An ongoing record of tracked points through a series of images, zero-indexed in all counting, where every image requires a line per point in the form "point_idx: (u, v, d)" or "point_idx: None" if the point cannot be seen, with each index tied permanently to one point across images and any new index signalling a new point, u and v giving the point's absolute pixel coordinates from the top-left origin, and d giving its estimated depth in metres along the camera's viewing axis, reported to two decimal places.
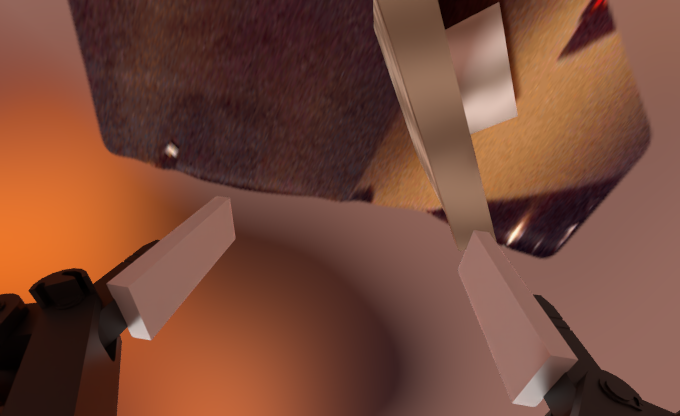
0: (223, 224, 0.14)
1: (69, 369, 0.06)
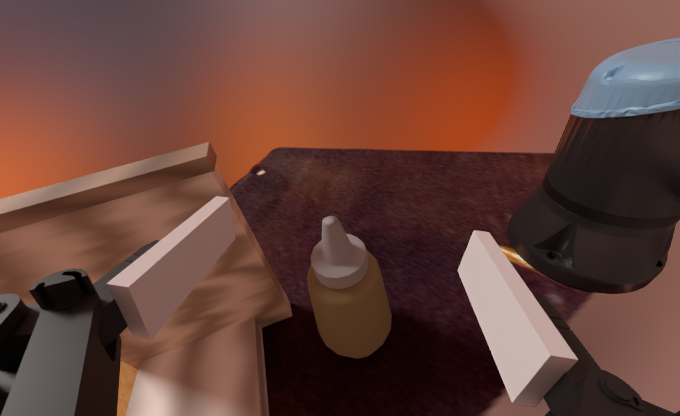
0: (223, 224, 0.14)
1: (68, 370, 0.06)
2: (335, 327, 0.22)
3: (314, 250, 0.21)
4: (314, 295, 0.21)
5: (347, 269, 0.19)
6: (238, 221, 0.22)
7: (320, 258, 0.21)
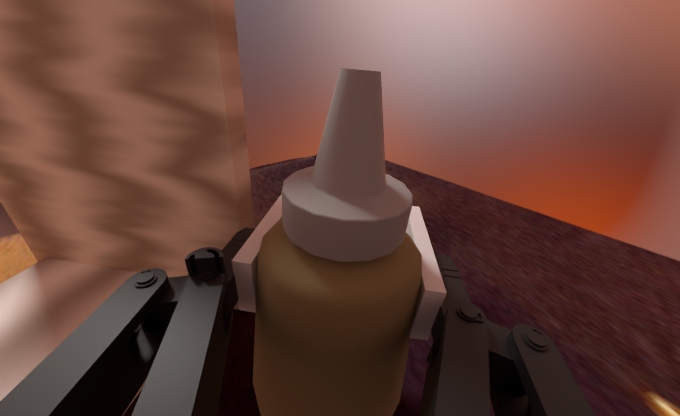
0: None
1: (199, 338, 0.07)
2: (269, 347, 0.10)
3: (307, 168, 0.10)
4: (260, 251, 0.10)
5: (348, 209, 0.07)
6: (221, 82, 0.13)
7: (307, 177, 0.09)
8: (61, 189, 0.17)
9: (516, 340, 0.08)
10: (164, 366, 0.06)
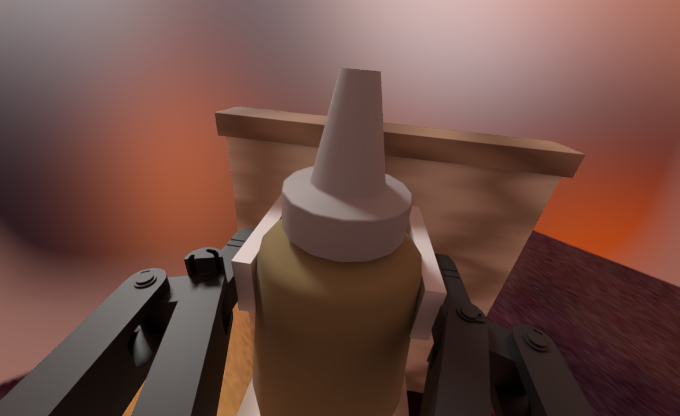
0: None
1: (199, 338, 0.07)
2: (269, 347, 0.10)
3: (307, 168, 0.10)
4: (259, 252, 0.10)
5: (348, 209, 0.07)
6: (518, 254, 0.16)
7: (307, 177, 0.09)
8: None
9: (516, 340, 0.08)
10: (164, 366, 0.06)
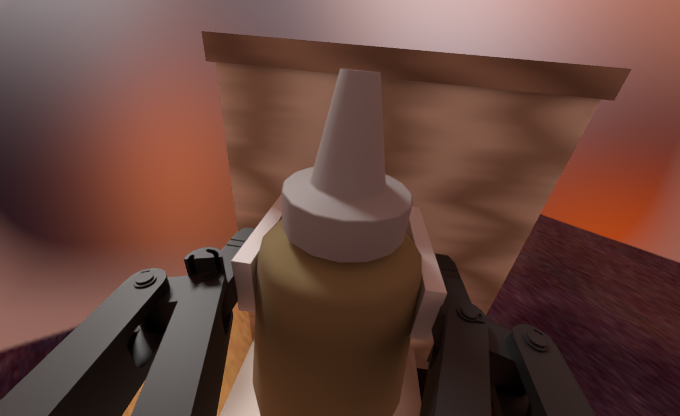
0: None
1: (199, 338, 0.07)
2: (269, 347, 0.10)
3: (307, 169, 0.10)
4: (260, 252, 0.10)
5: (348, 210, 0.07)
6: (545, 201, 0.14)
7: (307, 177, 0.09)
8: None
9: (517, 340, 0.08)
10: (164, 366, 0.06)
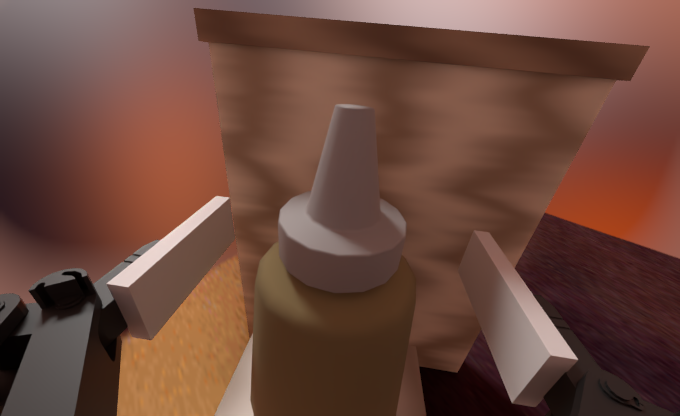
0: (223, 224, 0.14)
1: (69, 369, 0.06)
2: (266, 371, 0.10)
3: (304, 194, 0.10)
4: (257, 278, 0.10)
5: (343, 243, 0.08)
6: (554, 190, 0.13)
7: (303, 205, 0.09)
8: None
9: None
10: (19, 414, 0.05)
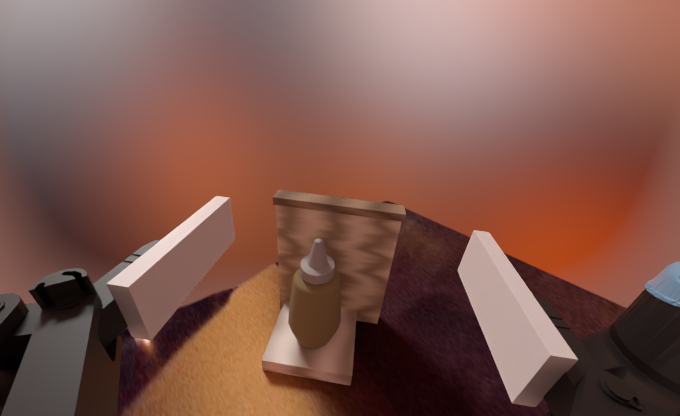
0: (223, 224, 0.14)
1: (68, 369, 0.06)
2: (296, 307, 0.35)
3: None
4: (293, 280, 0.35)
5: (316, 272, 0.33)
6: (394, 250, 0.38)
7: (306, 261, 0.34)
8: None
9: None
10: (19, 414, 0.05)
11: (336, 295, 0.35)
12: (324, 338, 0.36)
